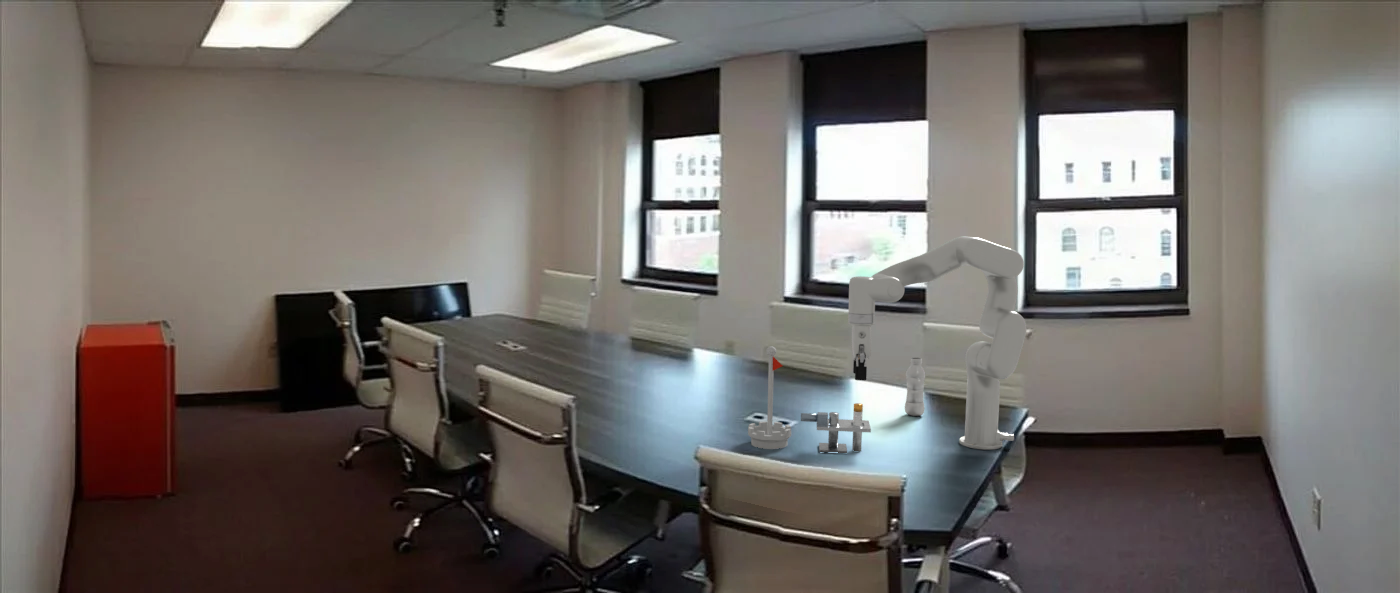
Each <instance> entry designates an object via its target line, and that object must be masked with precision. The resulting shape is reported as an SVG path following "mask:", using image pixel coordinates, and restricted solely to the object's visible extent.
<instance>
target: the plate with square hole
mask: <svg viewBox="0 0 1400 593" xmlns="http://www.w3.org/2000/svg"><path fill="white" fill-rule="evenodd" d="M839 417H840V413H839V412H836V411H831V412H829V413H828V412H823V411H822V412H821V411H820V412H819V411H818V412H817V413H808V412H807V413H804V412H803V413H800V422H807V423H809V422H811V423H816V431H828V441H827V442H819V443H818V444H819V446H818V447H819V448H818V449H819V452H838V453H847V454H848V448H847V443H839V432H850V433H851V432H852V433H853V432H862V433H871V431H872V429H871V425H870V422H869V421H870V420H867V419H866V420H863V419H862V426H853V419H840V418H839Z"/></svg>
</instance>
